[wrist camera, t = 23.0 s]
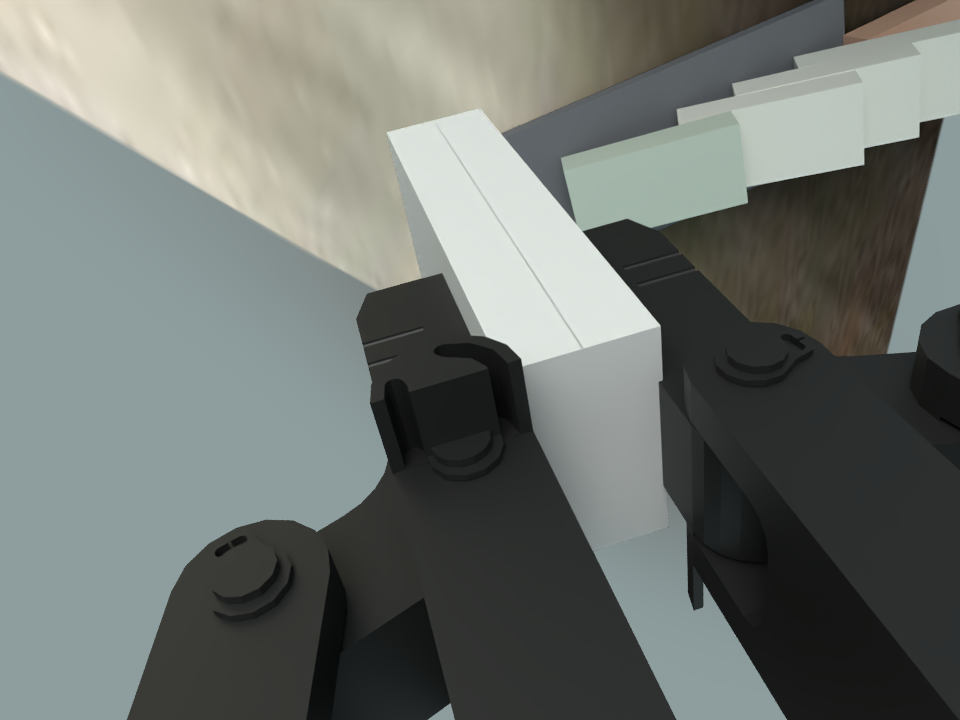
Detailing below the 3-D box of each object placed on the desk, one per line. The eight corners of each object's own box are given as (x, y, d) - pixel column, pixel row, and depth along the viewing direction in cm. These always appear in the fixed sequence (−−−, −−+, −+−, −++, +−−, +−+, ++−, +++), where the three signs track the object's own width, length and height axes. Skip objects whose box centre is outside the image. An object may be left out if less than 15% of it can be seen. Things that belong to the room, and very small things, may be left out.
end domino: (868, 39, 49) (995, -23, 51) (843, 35, 51) (967, -25, 52) (869, 117, 52) (989, 56, 54) (845, 111, 54) (963, 51, 55)
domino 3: (735, 95, 48) (921, 54, 46) (731, 83, 50) (911, 42, 47) (743, 171, 51) (919, 137, 48) (740, 158, 53) (910, 123, 50)
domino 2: (678, 122, 48) (863, 82, 45) (676, 109, 49) (855, 69, 47) (689, 197, 51) (864, 164, 48) (687, 183, 52) (856, 150, 49)
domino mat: (464, 149, 47) (468, 153, 47) (834, -9, 50) (843, -8, 49) (510, 290, 53) (514, 295, 52) (840, 142, 56) (848, 145, 55)
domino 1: (563, 171, 47) (739, 123, 45) (560, 157, 49) (730, 111, 47) (581, 245, 50) (748, 202, 48) (578, 230, 51) (739, 188, 50)
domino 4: (798, 68, 49) (986, 26, 46) (793, 56, 50) (974, 15, 48) (802, 145, 52) (980, 110, 49) (797, 132, 53) (969, 97, 50)
